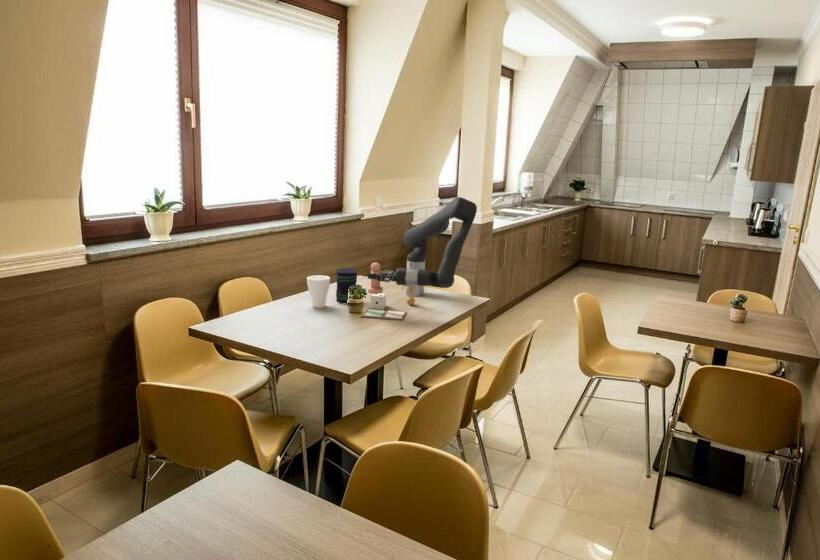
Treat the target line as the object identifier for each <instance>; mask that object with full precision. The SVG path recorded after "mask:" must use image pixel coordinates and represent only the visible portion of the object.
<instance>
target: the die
mask: <svg viewBox="0 0 820 560" xmlns="http://www.w3.org/2000/svg"><path fill="white" fill-rule="evenodd" d="M386 304H387V293H383V292H382V293H379V294H372V293H371V295H370V304H369V305H370V307H369V308H370V309H373V310H385V308H386V307H387V305H386Z"/></svg>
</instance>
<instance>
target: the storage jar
mask: <svg viewBox="0 0 820 560" xmlns="http://www.w3.org/2000/svg"><path fill="white" fill-rule="evenodd" d="M335 272H336V273H335V274H336V275H335V280H336V281H335V282H336V291H335V297H336V299H335V302H336V301H337V302H336V303H338V302H339V303H338V304H342V303H347V300H348V289H349V287H350V286H352V285H356V286H357V278H358V276H357V275H358V274H357V273H358V271H357V269H356V268H354V269H353V268H339V269H336V271H335Z"/></svg>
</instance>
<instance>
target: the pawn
mask: <svg viewBox="0 0 820 560" xmlns="http://www.w3.org/2000/svg"><path fill="white" fill-rule="evenodd" d="M380 271H381V264H380V263H378V262H373V263H372V264H370V272H371V274H380ZM367 292H368V293H369V294H371V295H372V294H379V293H383V292H384V287H383V286H381V281H377V280H376V279H370V286H368V287H367Z"/></svg>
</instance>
